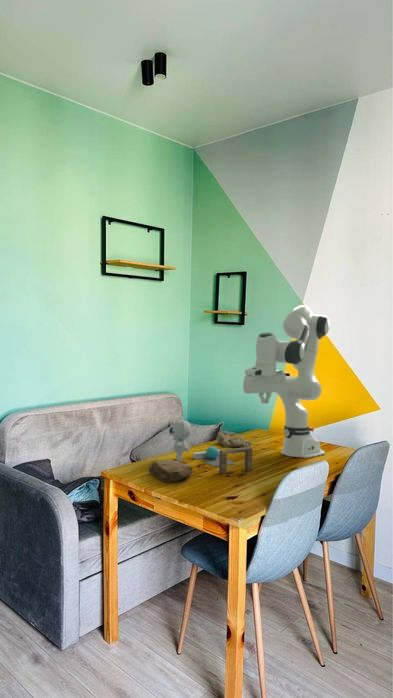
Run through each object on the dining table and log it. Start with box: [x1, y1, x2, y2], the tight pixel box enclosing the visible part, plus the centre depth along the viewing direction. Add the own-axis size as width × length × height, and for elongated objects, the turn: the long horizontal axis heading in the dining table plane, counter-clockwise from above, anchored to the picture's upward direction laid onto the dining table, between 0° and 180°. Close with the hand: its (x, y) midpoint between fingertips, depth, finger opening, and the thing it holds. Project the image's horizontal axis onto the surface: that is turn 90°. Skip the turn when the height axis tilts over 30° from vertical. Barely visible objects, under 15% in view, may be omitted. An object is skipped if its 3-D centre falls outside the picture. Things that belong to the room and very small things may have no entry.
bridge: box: [218, 447, 253, 475], centre depth 207 cm, size 3×15×10 cm, turn 116°
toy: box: [169, 416, 192, 463], centre depth 222 cm, size 17×10×20 cm, turn 5°
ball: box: [206, 446, 219, 459], centre depth 226 cm, size 6×6×6 cm
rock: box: [148, 459, 193, 483], centre depth 197 cm, size 20×7×15 cm
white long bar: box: [192, 449, 221, 460], centre depth 230 cm, size 16×2×2 cm, turn 116°
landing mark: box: [201, 457, 237, 468], centre depth 221 cm, size 12×12×1 cm
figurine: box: [216, 431, 253, 449], centre depth 254 cm, size 12×8×20 cm
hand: (264, 403), depth 201 cm, fingers closed
